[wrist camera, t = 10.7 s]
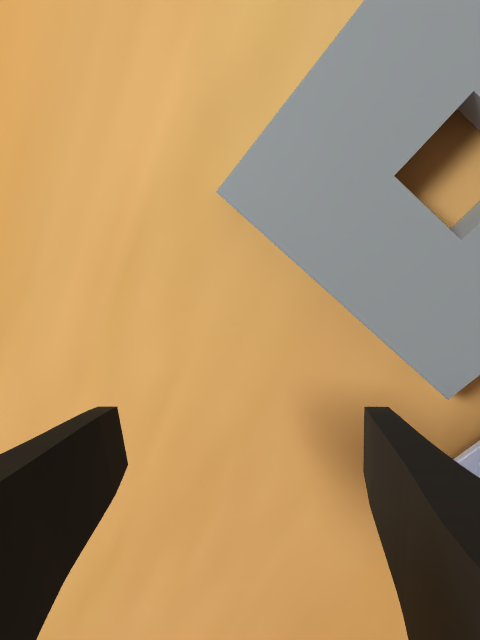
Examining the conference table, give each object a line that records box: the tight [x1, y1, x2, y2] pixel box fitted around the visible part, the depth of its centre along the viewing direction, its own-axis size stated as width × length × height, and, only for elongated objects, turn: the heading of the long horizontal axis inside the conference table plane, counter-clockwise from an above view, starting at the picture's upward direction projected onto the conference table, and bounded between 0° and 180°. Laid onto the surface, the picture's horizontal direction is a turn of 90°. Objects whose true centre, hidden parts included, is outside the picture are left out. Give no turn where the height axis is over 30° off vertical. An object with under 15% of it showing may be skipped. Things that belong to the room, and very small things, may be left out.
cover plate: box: [216, 0, 480, 400], centre depth 16 cm, size 14×14×2 cm
